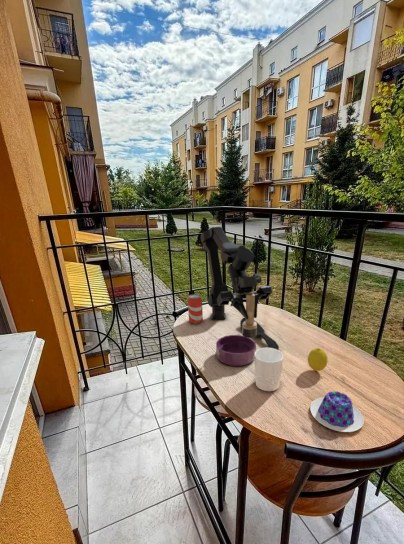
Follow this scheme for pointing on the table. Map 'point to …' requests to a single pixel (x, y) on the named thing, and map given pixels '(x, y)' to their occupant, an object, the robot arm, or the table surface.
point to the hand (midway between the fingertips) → (251, 318)
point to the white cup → (268, 368)
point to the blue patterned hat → (337, 412)
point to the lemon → (317, 359)
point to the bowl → (235, 350)
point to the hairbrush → (263, 335)
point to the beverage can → (195, 309)
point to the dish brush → (250, 318)
